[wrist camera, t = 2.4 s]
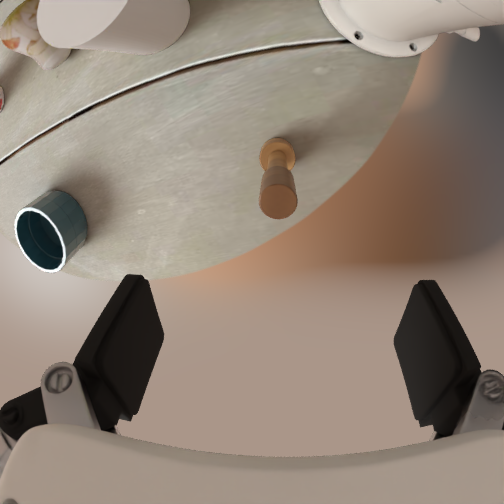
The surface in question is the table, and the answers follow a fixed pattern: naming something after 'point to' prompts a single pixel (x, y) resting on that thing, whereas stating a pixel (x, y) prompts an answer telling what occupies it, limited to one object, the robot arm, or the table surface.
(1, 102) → the pill bottle
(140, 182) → the table surface
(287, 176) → the wooden peg with base
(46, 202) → the bowl
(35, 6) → the mug
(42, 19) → the white patterned cylinder
